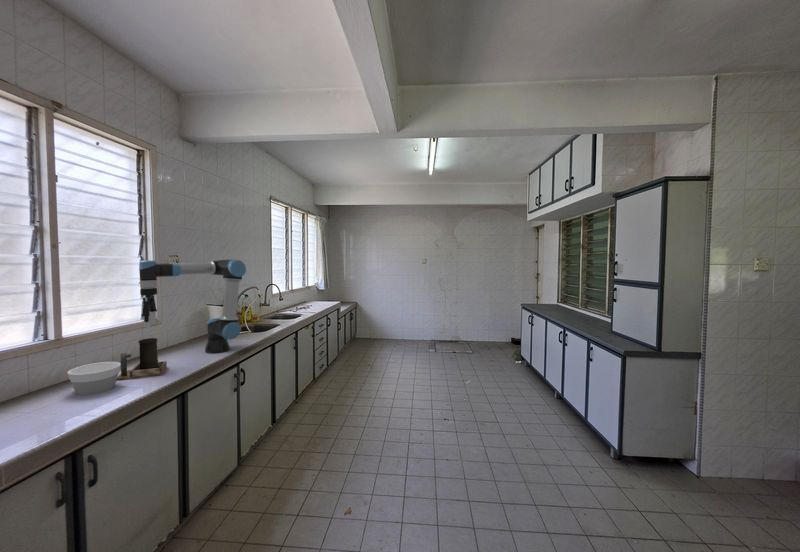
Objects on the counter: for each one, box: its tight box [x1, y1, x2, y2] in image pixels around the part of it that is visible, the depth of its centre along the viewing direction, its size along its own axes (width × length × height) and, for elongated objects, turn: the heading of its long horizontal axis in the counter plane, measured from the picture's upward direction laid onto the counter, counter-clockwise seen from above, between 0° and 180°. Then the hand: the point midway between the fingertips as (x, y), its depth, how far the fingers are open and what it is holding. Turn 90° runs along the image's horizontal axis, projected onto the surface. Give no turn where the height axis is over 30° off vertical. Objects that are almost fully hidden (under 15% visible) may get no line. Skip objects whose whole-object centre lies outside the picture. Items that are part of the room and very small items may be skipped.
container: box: [138, 337, 159, 370], centre depth 182 cm, size 9×9×18 cm
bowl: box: [67, 361, 121, 396], centre depth 159 cm, size 19×19×11 cm
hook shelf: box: [116, 352, 168, 382], centre depth 180 cm, size 20×14×13 cm
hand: (150, 325), depth 182 cm, fingers open, 13 cm apart
